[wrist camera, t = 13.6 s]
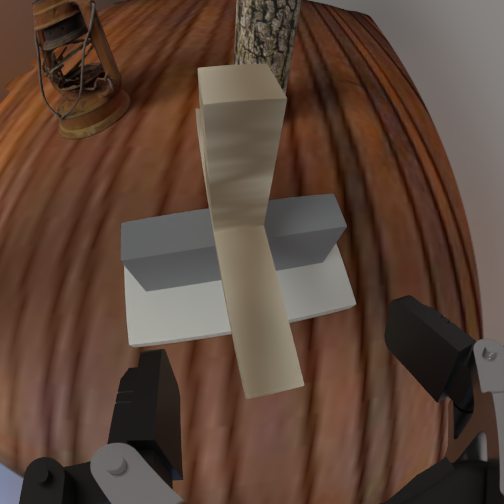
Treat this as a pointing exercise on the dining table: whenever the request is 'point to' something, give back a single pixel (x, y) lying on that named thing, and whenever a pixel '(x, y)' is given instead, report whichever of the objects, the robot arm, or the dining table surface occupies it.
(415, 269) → the dining table surface
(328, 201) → the ridge stand
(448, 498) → the robot arm
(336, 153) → the dining table surface
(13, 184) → the dining table surface
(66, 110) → the lantern
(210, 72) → the birch T-bar
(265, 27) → the bark print canister
